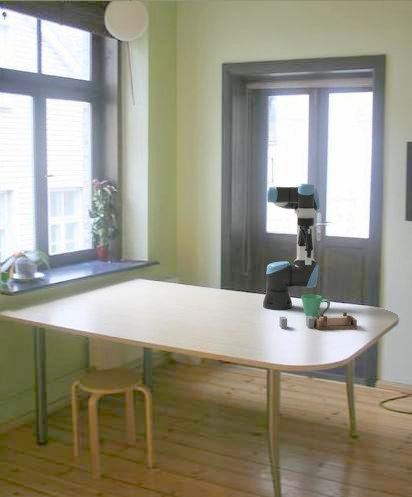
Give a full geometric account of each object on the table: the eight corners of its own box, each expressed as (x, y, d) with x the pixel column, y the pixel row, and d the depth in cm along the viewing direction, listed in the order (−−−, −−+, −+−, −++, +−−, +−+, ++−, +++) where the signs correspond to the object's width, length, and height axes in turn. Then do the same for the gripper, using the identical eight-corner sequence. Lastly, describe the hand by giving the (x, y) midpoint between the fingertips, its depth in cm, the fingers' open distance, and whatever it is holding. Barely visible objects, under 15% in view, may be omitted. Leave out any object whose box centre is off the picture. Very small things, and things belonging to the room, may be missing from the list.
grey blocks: (279, 326, 334) (279, 316, 333) (311, 325, 336) (311, 315, 335) (281, 328, 329) (281, 319, 329) (313, 327, 331) (314, 318, 330)
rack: (313, 325, 336) (313, 312, 335) (351, 324, 337) (351, 311, 336) (318, 330, 327) (318, 317, 326) (356, 329, 328) (357, 316, 328)
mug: (297, 317, 351) (298, 297, 350) (306, 313, 359) (306, 293, 358) (325, 321, 343) (326, 300, 342) (333, 317, 352) (334, 297, 350)
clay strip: (319, 324, 333) (319, 316, 332) (348, 323, 334) (348, 316, 334) (320, 325, 330) (320, 318, 329) (350, 325, 331) (350, 317, 331)
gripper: (292, 214, 347) (291, 258, 350) (303, 220, 322) (303, 266, 325) (307, 214, 347) (306, 258, 350) (320, 219, 323) (319, 266, 326)
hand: (304, 262), depth 338 cm, fingers open, 13 cm apart
